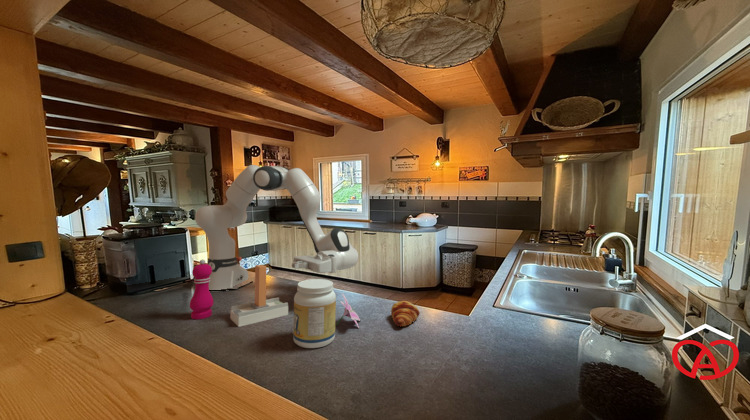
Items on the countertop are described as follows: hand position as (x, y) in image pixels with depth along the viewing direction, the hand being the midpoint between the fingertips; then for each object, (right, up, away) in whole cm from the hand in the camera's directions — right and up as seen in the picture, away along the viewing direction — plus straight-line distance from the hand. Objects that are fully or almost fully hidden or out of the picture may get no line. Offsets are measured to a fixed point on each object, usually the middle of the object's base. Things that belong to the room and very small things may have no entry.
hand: (293, 265), depth 111 cm
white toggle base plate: (-10, -17, -8) cm, 21 cm away
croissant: (+42, -18, -7) cm, 46 cm away
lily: (+23, -18, -13) cm, 32 cm away
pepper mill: (-30, -16, -9) cm, 35 cm away
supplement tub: (+13, -17, -25) cm, 33 cm away
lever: (-10, -13, -8) cm, 18 cm away
